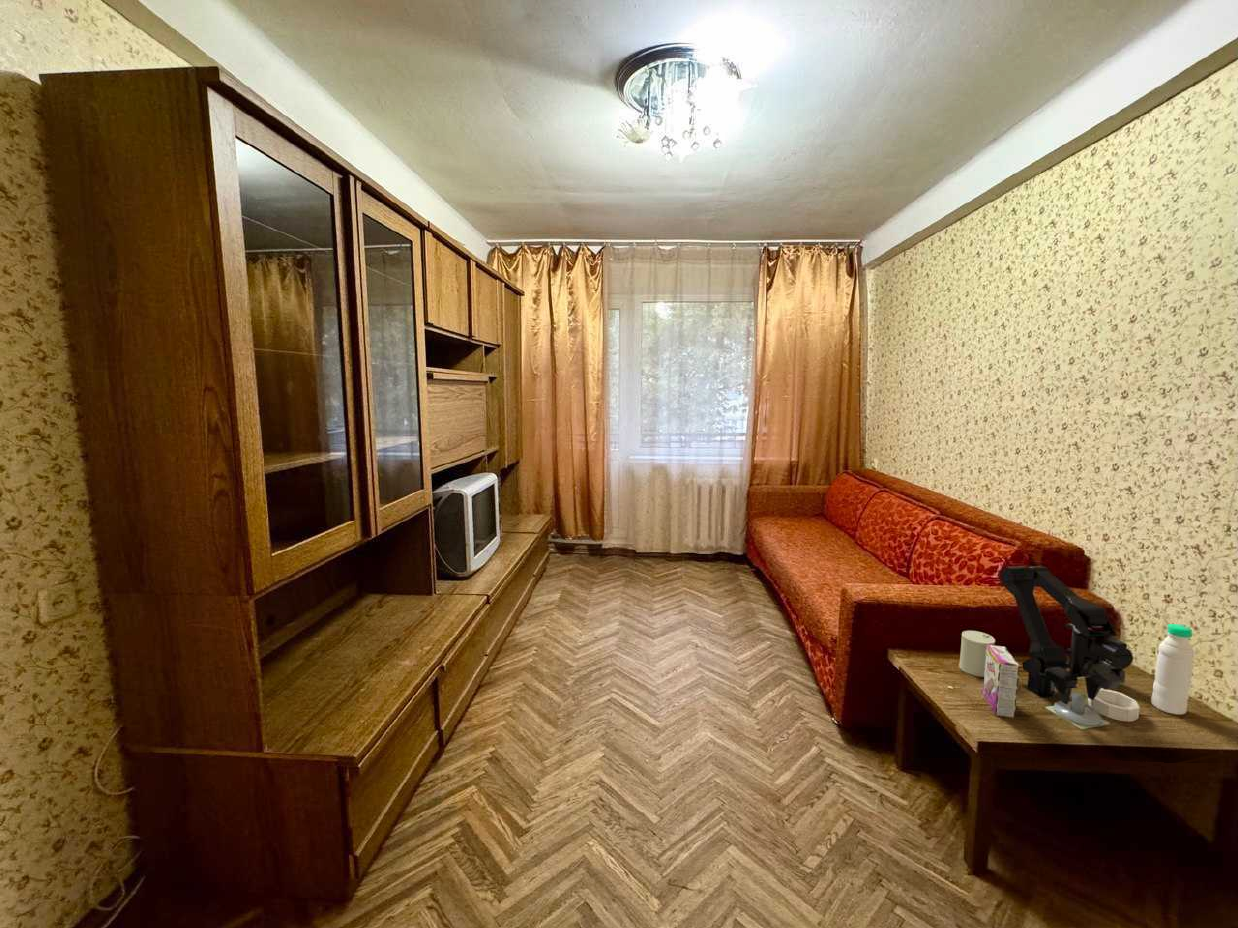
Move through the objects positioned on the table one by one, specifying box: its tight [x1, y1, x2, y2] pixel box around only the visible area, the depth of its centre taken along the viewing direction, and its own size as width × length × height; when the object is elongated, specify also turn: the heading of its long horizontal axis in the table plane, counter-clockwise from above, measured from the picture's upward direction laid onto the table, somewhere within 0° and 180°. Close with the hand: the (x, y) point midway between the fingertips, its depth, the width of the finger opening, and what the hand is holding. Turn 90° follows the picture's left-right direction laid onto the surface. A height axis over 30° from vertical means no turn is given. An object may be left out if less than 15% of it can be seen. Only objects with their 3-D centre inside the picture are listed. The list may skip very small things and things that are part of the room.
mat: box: [1044, 705, 1111, 730], centre depth 146 cm, size 10×10×1 cm
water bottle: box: [1150, 623, 1196, 716], centre depth 147 cm, size 7×7×25 cm
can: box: [958, 630, 996, 678], centre depth 170 cm, size 9×9×12 cm
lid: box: [1053, 691, 1102, 728], centre depth 146 cm, size 10×10×6 cm
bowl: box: [1087, 688, 1141, 723], centre depth 148 cm, size 10×10×4 cm
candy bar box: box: [982, 644, 1020, 719], centre depth 150 cm, size 11×5×16 cm, turn 162°
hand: (1078, 701), depth 146 cm, fingers open, 9 cm apart
